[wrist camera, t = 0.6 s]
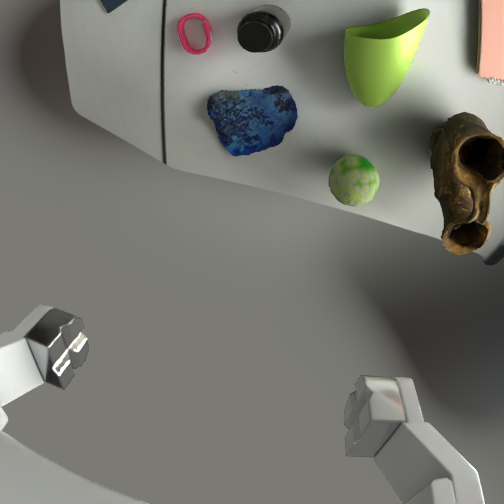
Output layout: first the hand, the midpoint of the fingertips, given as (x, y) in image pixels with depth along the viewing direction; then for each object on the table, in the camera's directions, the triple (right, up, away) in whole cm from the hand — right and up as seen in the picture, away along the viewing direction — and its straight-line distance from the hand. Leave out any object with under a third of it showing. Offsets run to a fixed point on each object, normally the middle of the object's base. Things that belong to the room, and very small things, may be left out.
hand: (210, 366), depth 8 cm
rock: (+2, +29, +50) cm, 58 cm away
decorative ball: (+22, +21, +53) cm, 61 cm away
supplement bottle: (+4, +41, +34) cm, 53 cm away
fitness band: (-9, +42, +38) cm, 57 cm away
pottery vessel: (+40, +24, +43) cm, 63 cm away
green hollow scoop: (+22, +36, +33) cm, 54 cm away
